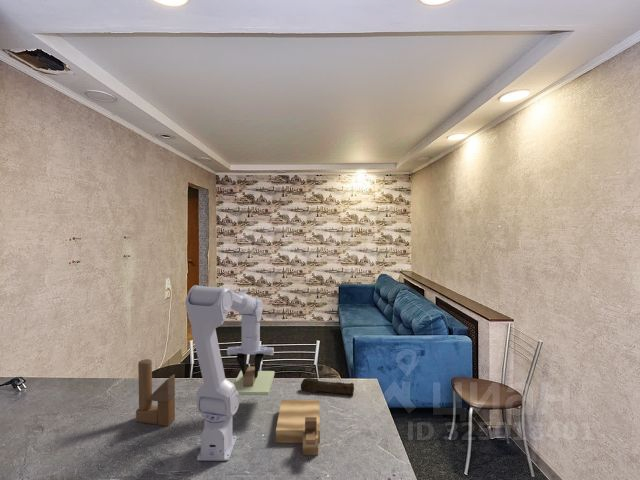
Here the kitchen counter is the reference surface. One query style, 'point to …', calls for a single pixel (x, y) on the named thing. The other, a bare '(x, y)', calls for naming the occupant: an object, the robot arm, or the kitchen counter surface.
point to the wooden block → (155, 397)
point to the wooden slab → (297, 423)
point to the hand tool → (326, 386)
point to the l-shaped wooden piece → (310, 430)
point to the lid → (254, 382)
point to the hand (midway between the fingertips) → (250, 376)
